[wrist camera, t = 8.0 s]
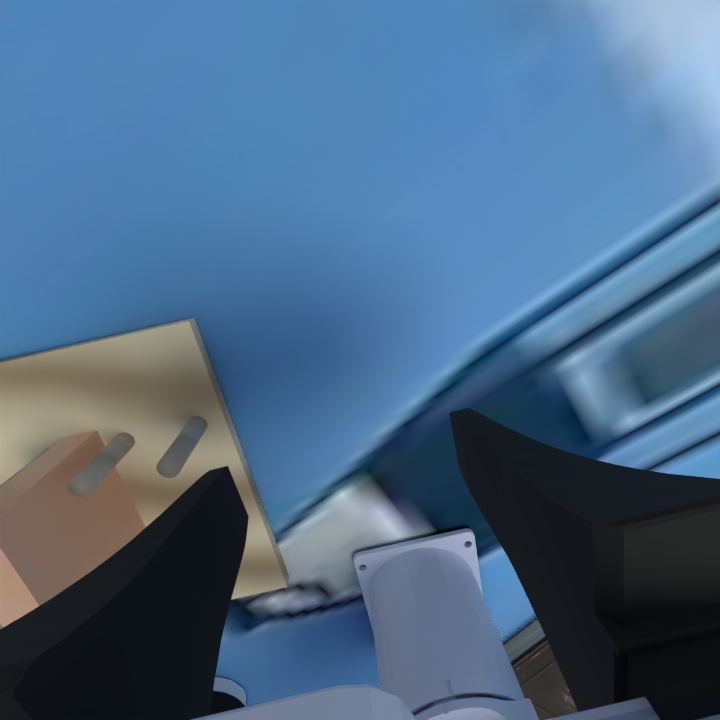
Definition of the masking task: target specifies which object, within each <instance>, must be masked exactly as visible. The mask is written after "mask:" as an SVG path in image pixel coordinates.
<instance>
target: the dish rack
mask: <svg viewBox="0 0 720 720" xmlns="http://www.w3.org/2000/svg"><path fill="white" fill-rule="evenodd" d="M95 430H97V431H98V433H99V435H100V437H101V439H102V441H103V443H104V445H105V447H104V448H103V449H102V450H101V451H100V452H99V453H98V454H97V455H96V456H95V457H94V458H93V459H92V460H91V461H90V462H89V463H88V464H87V465H86V466H85V467H84V468H83V469H82V470H81V471H80V472H79V473H78V474H77V475H76V476H75V477H74V478H73V479H71V480H70V481H69V483H68V485H67V488H68V491H69V492H70V493H71V494H72V495H74V496H76V497H80V498H83V497H87V496H89V495H90V494H91V493H92V491H93V490H94V489H95V488H96V487H97V486H98V485H99V484H100V483H101V481H102V480H103V479H104V478H105V477H106V476H107V475H108V474H109V473H110V471H111V470H112V469H113V468H114V467H116V469H117V471H118V473H119V475H120V477H121V479H122V481H123V483H124V485H125V487H126V489H127V491H128V493H129V495H130V497H131V499H132V501H133V503H134V505H135V507H136V509H137V511H138V513H139V515H140V517H141V519H142V521H143V523H144V525H145V527H147V526H148V525H149V524H150V523H151V522H153V521H154V520H155V519H156V518H157V517H158V516H159V515H160V514H162V513H163V512H164V511H165V510H166V509H167V508H168V507H169V506H170V505H171V504H172V503H173V502H174V501H175V500H176V499H178V498H179V497H180V496H181V495H182V494H183V493H184V492H185V491H186V490H187V489H188V488H189V487H190V486H191V485H192V484H194V483H195V482H196V481H197V480H198V479H199V478H200V477H201V476H203V475H204V474H205V473H206V472H208V471H209V470H213V469H217V468H221V467H225V466H228V467H229V470H230V472H231V475H232V477H233V480H234V482H235V484H236V487H237V489H238V492H239V494H240V497H241V499H242V501H243V504H244V506H245V509H246V511H247V514H248V516H249V519H248V528H247V536H246V544H245V549H244V553H243V557H242V561H241V565H240V569H239V572H238V576H237V580H236V583H235V587H234V591H233V594H232V598H231V600H232V599H236V598H241V597H245V596H250V595H254V594H259V593H263V592H268V591H272V590H277V589H281V588H286V587H287V586H288V578H289V576H288V574H287V571H286V568H285V565H284V562H283V560H282V557H281V554H280V551H279V549H278V546H277V543H276V540H275V538H274V535H273V532H272V529H271V527H270V524H269V521H268V518H267V516H266V513H265V510H264V507H263V505H262V502H261V499H260V496H259V494H258V491H257V488H256V485H255V483H254V480H253V477H252V474H251V472H250V469H249V466H248V463H247V461H246V458H245V455H244V452H243V450H242V447H241V444H240V441H239V439H238V436H237V433H236V430H235V428H234V425H233V422H232V419H231V417H230V414H229V411H228V408H227V406H226V403H225V400H224V397H223V395H222V392H221V389H220V386H219V384H218V381H217V378H216V375H215V373H214V370H213V367H212V364H211V362H210V359H209V356H208V353H207V351H206V348H205V345H204V342H203V340H202V337H201V334H200V331H199V329H198V326H197V323H196V320H195V318H194V317H193V318H188V319H184V320H179V321H175V322H170V323H166V324H161V325H157V326H152V327H148V328H144V329H139V330H135V331H130V332H126V333H121V334H117V335H112V336H108V337H103V338H99V339H94V340H90V341H85V342H81V343H76V344H72V345H67V346H63V347H58V348H54V349H49V350H45V351H40V352H36V353H31V354H27V355H22V356H18V357H13V358H9V359H4V360H0V488H1V487H2V486H3V485H4V484H6V483H7V482H8V481H9V480H11V479H12V478H13V477H14V476H16V475H17V474H18V473H19V472H21V471H22V470H23V469H25V468H26V467H27V466H28V465H30V464H31V463H32V462H33V461H35V460H36V459H37V458H38V457H40V456H41V455H42V454H44V453H45V452H46V451H47V450H49V449H50V448H51V447H52V446H54V445H55V444H56V443H57V442H59V441H60V440H61V439H62V438H64V437H68V436H73V435H77V434H82V433H86V432H91V431H95ZM2 628H3V626H2V625H1V623H0V629H2Z"/></svg>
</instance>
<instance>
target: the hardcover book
mask: <svg viewBox="0 0 720 720" xmlns="http://www.w3.org/2000/svg"><path fill="white" fill-rule="evenodd" d="M503 646H504V649H505V651H506V653H507V656H508V658H509V661H510V663H511V666H512V668H513V670H514V673H515V675H516V678H517V680H518V683H519V685H520V688H521V690H522V692H523V695H524V697H525V699H526V698H529V699H530V700H531V702H532V704H533V706H534V709H535V711H536V714H537V716H538V718H539V720H547V719H551V718H555V717H559V716H564V715H568V714H572V713H577V712H578V710H577V708H576V705H575V703H574V701H573V698H572V696H571V694H570V691H569V689H568V686H567V684H566V682H565V680H564V677H563V675H562V673H561V670H560V668H559V666H558V664H557V661H556V659H555V657H554V654H553V652H552V650H551V648H550V645H549V643H548V641H547V639H546V636H545V634H544V632H543V630H542V628H541V625H540V623H539V621H538V619H537V620H535V621H534V622H533V623H532V624H530V625H529V626H528V627H526V628H525V629H524V630H522V631H521V632H520V633H519V634H517V635H516V636H515V637H513V638H512V639H511V640H509V641H508V642H507V643H506V644H504V645H503Z"/></svg>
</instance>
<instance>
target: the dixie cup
mask: <svg viewBox="0 0 720 720" xmlns="http://www.w3.org/2000/svg"><path fill="white" fill-rule="evenodd" d="M242 707H246V694H245V691H244V690H243V688H242V687H241V686H240V685H238V684H237V683H236V682H234V681H232V680H229V679H225V678H220V677H215V680H214V687H213V694H212V701H211V708H210V715H213V714H217V713H221V712H225V711H230V710H234V709H238V708H242Z"/></svg>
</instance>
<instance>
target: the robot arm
mask: <svg viewBox="0 0 720 720" xmlns="http://www.w3.org/2000/svg"><path fill="white" fill-rule="evenodd" d="M450 418H451V424H452V429H453V435H454V441H455V447H456V453H457V459H458V465H459V468H460V470H461V473H462V475H463V478H464V480H465V482H466V484H467V487H468V489H469V491H470V493H471V495H472V497H473V499H474V500H475V502H476V504H477V505H478V507H479V509H480V511H481V512H482V514H483V516H484V517H485V519H486V521H487V522H488V524H489V526H490V527H491V529H492V531H493V532H494V534H495V536H496V537H497V539H498V541H499V542H500V544H501V546H502V547H503V549H504V551H505V552H506V554H507V556H508V558H509V560H510V562H511V564H512V565H513V567H514V569H515V571H516V573H517V576H518V578H519V580H520V582H521V584H522V586H523V588H524V590H525V593H526V595H527V597H528V599H529V601H530V603H531V605H532V608H533V610H534V612H535V614H536V616H537V619H538V621H539V623H540V625H541V628H542V630H543V632H544V634H545V636H546V639H547V641H548V643H549V645H550V648H551V650H552V652H553V654H554V657H555V659H556V661H557V664H558V666H559V668H560V670H561V673H562V675H563V677H564V680H565V682H566V684H567V686H568V689H569V691H570V694H571V696H572V698H573V701H574V703H575V705H576V708H577V710H578V712H577V713H572V714H568V715H564V716H559V717H555V718H551V719H547V720H720V479H714V478H704V477H695V476H685V475H675V474H666V473H659V472H653V471H647V470H641V469H635V468H629V467H624V466H619V465H614V464H610V463H606V462H602V461H598V460H594V459H589V458H586V457H582V456H579V455H575V454H572V453H569V452H566V451H563V450H560V449H557V448H554V447H551V446H548V445H546V444H543V443H541V442H538V441H536V440H533V439H531V438H529V437H526V436H524V435H522V434H519V433H517V432H515V431H513V430H511V429H509V428H507V427H505V426H503V425H501V424H499V423H497V422H495V421H493V420H491V419H489V418H487V417H485V416H484V415H482V414H480V413H478V412H476V411H474V410H472V409H470V408H466V409H462V410H458V411H453V412H450ZM248 519H249V516H248V514H247V511H246V509H245V506H244V504H243V501H242V499H241V497H240V494H239V492H238V489H237V487H236V484H235V482H234V480H233V477H232V475H231V472H230V470H229V467H228V466H225V467H221V468H217V469H213V470H209V471H208V472H206V473H205V474H204V475H203V476H201V477H200V478H199V479H198V480H197V481H196V482H195V483H194V484H192V485H191V486H190V487H189V488H188V489H187V490H186V491H185V492H184V493H183V494H182V495H181V496H180V497H179V498H178V499H176V500H175V501H174V502H173V503H172V504H171V505H170V506H169V507H168V508H167V509H166V510H165V511H164V512H163V513H162V514H160V515H159V516H158V517H157V518H156V519H155V520H154V521H153V522H151V523H150V524H149V525H148V526H147V527H146V528H145V529H143V530H142V531H141V532H140V533H139V534H138V535H137V536H136V537H134V538H133V539H132V540H131V541H130V542H128V543H127V544H126V545H125V546H124V547H122V548H121V549H120V550H119V551H117V552H116V553H115V554H114V555H112V556H111V557H110V558H108V559H107V560H106V561H104V562H103V563H102V564H100V565H99V566H98V567H96V568H95V569H94V570H92V571H91V572H90V573H88V574H87V575H85V576H84V577H82V578H81V579H79V580H78V581H76V582H75V583H73V584H72V585H70V586H69V587H67V588H66V589H65V590H63V591H62V592H60V593H59V594H57V595H56V596H54V597H53V598H51V599H50V600H48V601H47V602H45V603H43V604H42V605H40V606H38V607H37V608H35V609H34V610H32V611H30V612H29V613H27V614H25V615H24V616H22V617H20V618H19V619H17V620H15V621H14V622H12V623H10V624H8V625H7V626H5V627H3V628H2V629H0V720H539V718H538V716H537V714H536V711H535V709H534V706H533V704H532V702H531V700H530V699H529V698H526V699H525V697H524V695H523V692H522V690H521V688H520V685H519V683H518V680H517V678H516V675H515V673H514V670H513V668H512V666H511V663H510V661H509V658H508V656H507V653H506V651H505V649H504V646H503V644H502V641H501V639H500V636H499V634H498V632H497V629H496V627H495V624H494V622H493V619H492V617H491V615H490V612H489V610H488V607H487V605H486V602H485V600H484V598H483V593H482V586H481V579H480V572H479V565H478V557H477V550H476V543H475V536H474V534H473V532H472V530H471V529H468V528H466V529H460V530H456V531H451V532H447V533H442V534H438V535H433V536H429V537H424V538H420V539H415V540H411V541H406V542H402V543H397V544H393V545H388V546H384V547H379V548H375V549H370V550H366V551H361V552H358V553H356V554H355V555H354V557H353V561H354V566H355V570H356V573H357V577H358V580H359V584H360V587H361V591H362V594H363V598H364V601H365V605H366V609H367V612H368V616H369V619H370V623H371V626H372V630H373V633H374V641H375V651H376V660H377V670H378V679H379V688H377V687H375V686H372V685H369V684H356V685H338V686H332V687H327V688H323V689H319V690H315V691H310V692H306V693H302V694H298V695H293V696H289V697H285V698H281V699H276V700H272V701H268V702H264V703H259V704H255V705H251V706H247V707H242V708H238V709H234V710H230V711H225V712H221V713H217V714H213V715H210V708H211V701H212V694H213V687H214V680H215V674H216V668H217V662H218V656H219V650H220V644H221V638H222V633H223V629H224V625H225V620H226V617H227V613H228V609H229V605H230V602H231V598H232V594H233V591H234V587H235V583H236V580H237V576H238V572H239V569H240V565H241V561H242V557H243V553H244V549H245V544H246V536H247V528H248ZM467 541H469V542H467ZM465 542H467V543H465ZM360 565H364V566H360Z"/></svg>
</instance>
